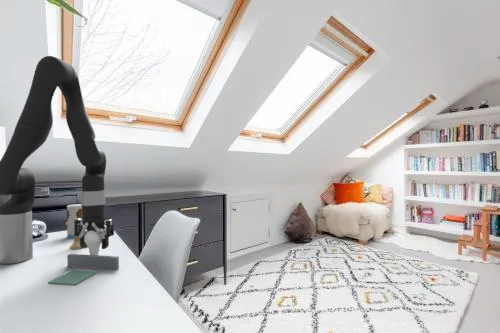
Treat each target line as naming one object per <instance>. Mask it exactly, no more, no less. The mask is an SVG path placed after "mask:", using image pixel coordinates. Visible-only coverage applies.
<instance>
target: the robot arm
mask: <svg viewBox="0 0 500 333" xmlns="http://www.w3.org/2000/svg"><path fill="white" fill-rule="evenodd" d="M57 88H59V90H60V92H61V94H62V95H63V99H64V101H65V109H66V110H65V118H66V119H65V120H66V123H67V124H66V125H67V127H68V130H69V132H70V135H71V136H72V139H73V142H74V143H73V144H74V147H75V148H74V149H75V154H76V156H77V159H78V161H79V162H80V164H81V165H82V166H83V167H85V172H84V175H83V176H82V179H81V198H80V200H81V201H80V202H81V203H80V204H81V207H82V217H83V219H82V218H80V219H77V220H75V221H74V235H75V236H78V237H79V238H80V246H81V249H86V248H88V247H87V245H86V243H85V241H84V237H85V235H86V233H87V232H89V231H95V232H97V233H98V234H100V235H101V237H102V238H103V239H102V243H101V249H102V250H105V249H107V248H108V247H109V238H110V237H112V236H114V235H115V226H114V225H115V224H114V219H113V218H111V219H106V218H105V216H106V215H107V214H106V212H107V210H106V207H107V206H106V193H105V175H106V167H107V156H106V153H105V152H104V151H103V150H102V149H99V148H98V146H97V144H96V141H95V139H96V134H95V131H94V128H93V126H92V122H91V120H90V118H89V115H88V112H87V110H86V106H85V103H84V99H83V98H84V97H83V92H82V88H81V84H80V80H79V75H78V72H77V70H76V68H75V67H74V66H73V64H70V63H69V62H66V61H64V60H62V59H60V58H57V57H55V56H53V55H48V56H44V57H42V58H41V59H40V60H39V61H38V62H37V64H36V66H35V70H34V74H33V78H32V82H31V86H30V88H29V92H28V95H27V98H26V100H25V104H24V106H23V108H22V111H21V114H20V116H19V118H18V121H17V123H16V125H15V127H14V130H13V132H12V136H11V138H10V140H9V143H8V145H7V147H6V150H5V152H4V154H3V155H2V157H1V159H0V196H4V195H5V196H7V195H11V196H10V198H9V199H8V200H7V201H6V202H4V203H2V204H0V264H1V265H10V264H18V263H22V262H26V261H28V260H31V259H32V258H33V256H34V254H33V253H34V252H33V251H34V248H33V247H34V246H33V245H34V242H33V240H34V239H33V207H34V204H35V198H36V197H35V196H36V176H35V174H34V172H33V171H32V170H31V169H29V168H27V167H26V168H24V167H23V165H24V163H25V161H26V160H27V159H28V158H29V157H30V156H31V155H32V154H33V153H35V152H36V151H37V150H38V149H39V148H40V147H41V146H42V145H44V144H45V142H46V141H47V139H48V138H49V135H50V132H51V129H52V127H53V123H54V119H53V117H54V116H53V108H52V101H53V97H54V94H55V93H56V90H57ZM82 224H83V225H84V227H83V229H82ZM78 229H79V232H78ZM85 247H86V248H85Z"/></svg>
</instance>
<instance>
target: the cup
mask: <svg viewBox="0 0 500 333" xmlns="http://www.w3.org/2000/svg"><path fill="white" fill-rule="evenodd" d="M79 208H82V207H81V203H77V204H68V205H67V206H66V221H67V222H66V224H67V225H66V227H67V228H66V231H67V232H66V233H67V235H66V236H67V237H68V238H67V239H75V235H74V221H75V220H77V213H78V209H79ZM83 227H84V225H83ZM78 232H79V229H78Z"/></svg>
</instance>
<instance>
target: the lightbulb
mask: <svg viewBox="0 0 500 333" xmlns="http://www.w3.org/2000/svg"><path fill="white" fill-rule="evenodd" d="M102 239H103V238H102V237H101V235H100V234H98V233H97V232H95V231H89V232H87V233H86V235H85V237H84V241H85V243H86V245H87V246H88V247H87V249H88V252H89V255H100V254H99V252H100V247H101V246H102Z"/></svg>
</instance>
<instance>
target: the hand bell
mask: <svg viewBox="0 0 500 333" xmlns="http://www.w3.org/2000/svg"><path fill="white" fill-rule="evenodd" d="M80 218H82V219H83V217H82V208H79V209H78V213H77V219H80ZM82 229H83V224H82ZM69 248H70V249H71V250H80V249H82V248H81V246H80V238H79V237H78V236H75V238H73V242H72V244H71V245H70V246H69ZM87 248H88V246H87V247H85V248H84V249H87Z"/></svg>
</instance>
